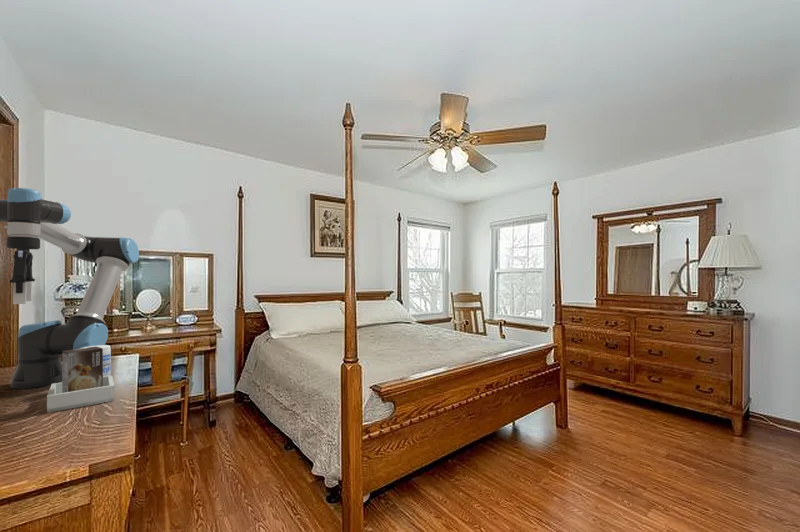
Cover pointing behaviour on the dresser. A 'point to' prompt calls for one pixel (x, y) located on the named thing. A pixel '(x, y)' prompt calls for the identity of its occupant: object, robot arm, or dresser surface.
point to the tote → (79, 396)
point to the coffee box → (82, 369)
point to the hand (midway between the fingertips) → (22, 302)
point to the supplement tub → (105, 358)
